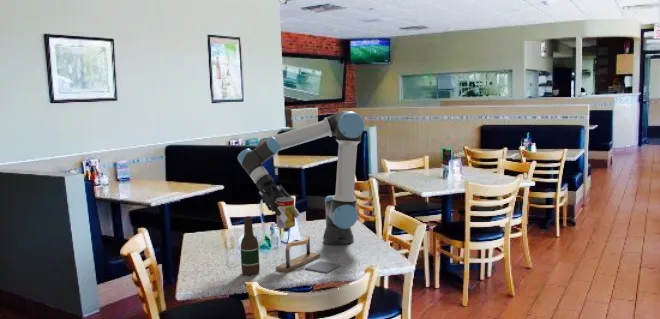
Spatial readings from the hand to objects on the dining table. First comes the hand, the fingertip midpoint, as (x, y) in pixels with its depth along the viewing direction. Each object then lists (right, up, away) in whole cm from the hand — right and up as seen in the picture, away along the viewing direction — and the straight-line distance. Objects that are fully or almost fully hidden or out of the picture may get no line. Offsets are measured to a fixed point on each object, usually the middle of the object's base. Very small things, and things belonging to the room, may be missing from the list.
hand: (291, 218), depth 247 cm
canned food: (-3, -4, +3) cm, 5 cm away
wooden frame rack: (+3, -20, +3) cm, 20 cm away
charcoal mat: (+14, -21, -5) cm, 25 cm away
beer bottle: (-17, -22, -8) cm, 29 cm away
